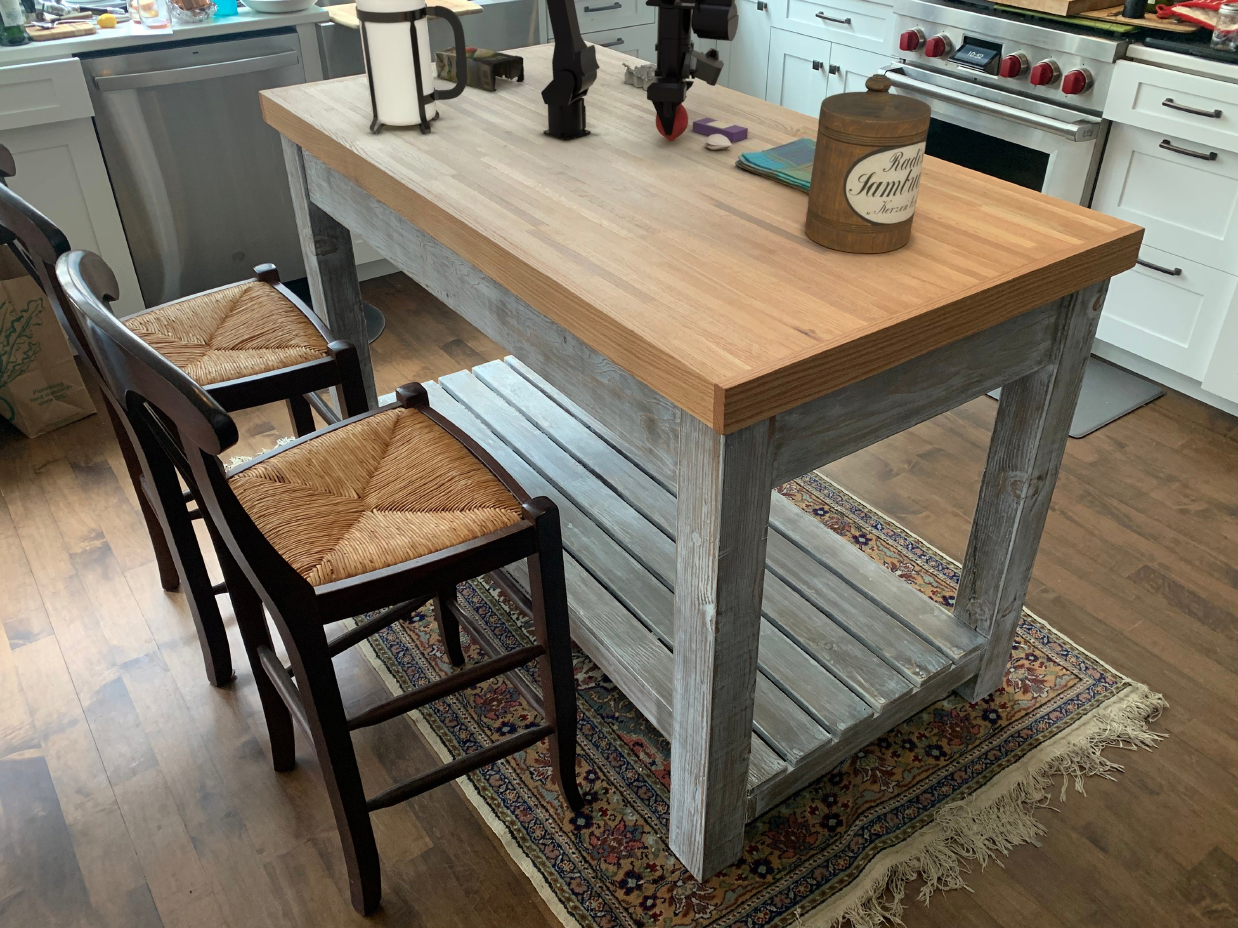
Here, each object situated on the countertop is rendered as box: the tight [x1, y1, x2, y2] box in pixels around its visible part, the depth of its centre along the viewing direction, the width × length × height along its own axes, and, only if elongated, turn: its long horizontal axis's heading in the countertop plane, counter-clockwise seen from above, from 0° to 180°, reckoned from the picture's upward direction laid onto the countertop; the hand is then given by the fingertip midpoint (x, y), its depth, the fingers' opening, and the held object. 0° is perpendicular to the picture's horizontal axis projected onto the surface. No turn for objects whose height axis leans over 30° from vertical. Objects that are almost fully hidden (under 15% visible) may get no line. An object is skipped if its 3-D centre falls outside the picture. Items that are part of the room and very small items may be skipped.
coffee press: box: [354, 0, 467, 135], centre depth 179 cm, size 17×16×30 cm
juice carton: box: [434, 44, 525, 92], centre depth 214 cm, size 20×10×6 cm, turn 48°
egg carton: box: [621, 62, 662, 91], centre depth 212 cm, size 11×8×4 cm
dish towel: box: [734, 137, 816, 194], centre depth 162 cm, size 17×23×2 cm
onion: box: [655, 103, 689, 143], centre depth 173 cm, size 6×6×8 cm
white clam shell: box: [705, 134, 733, 151], centre depth 174 cm, size 4×5×2 cm
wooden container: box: [804, 73, 932, 254], centre depth 136 cm, size 15×15×22 cm
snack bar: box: [691, 117, 749, 144], centre depth 182 cm, size 10×4×2 cm, turn 44°
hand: (671, 130), depth 175 cm, fingers closed on onion, 6 cm apart
